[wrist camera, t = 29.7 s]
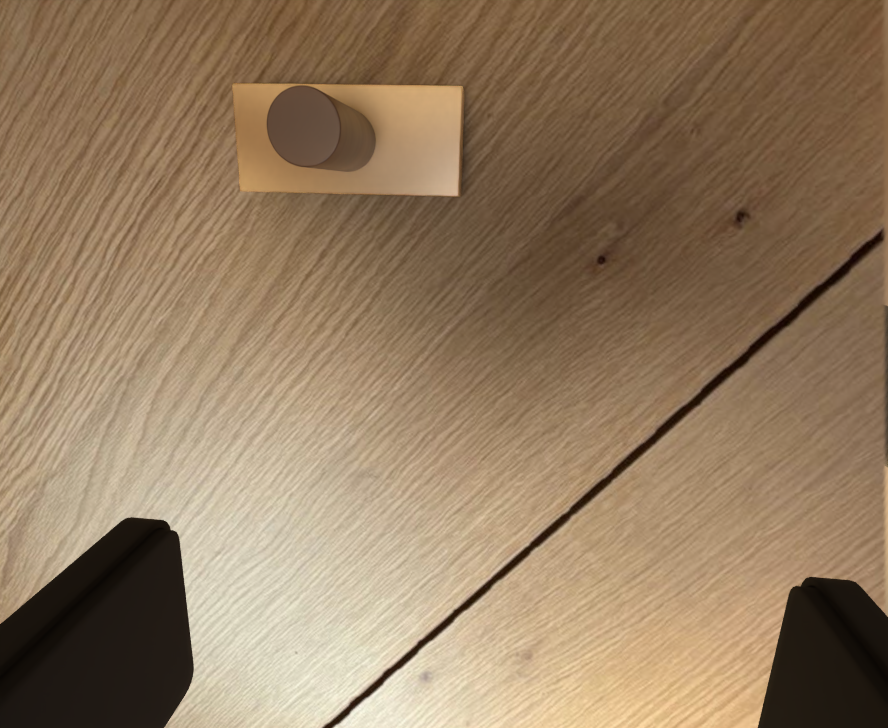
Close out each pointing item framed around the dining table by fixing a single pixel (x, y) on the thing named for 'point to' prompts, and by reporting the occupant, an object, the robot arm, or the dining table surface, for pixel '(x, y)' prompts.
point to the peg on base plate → (349, 138)
